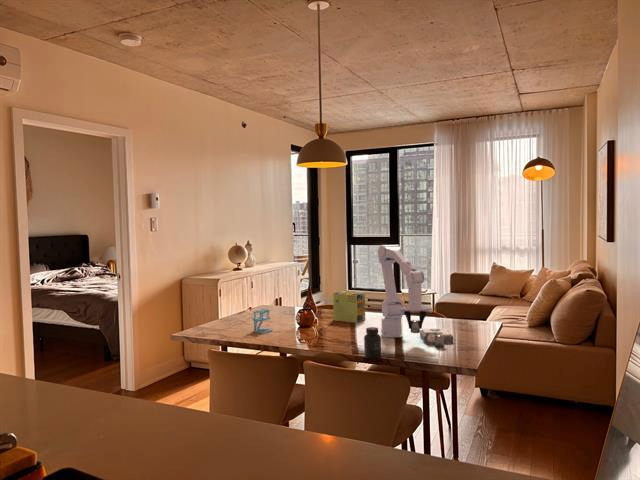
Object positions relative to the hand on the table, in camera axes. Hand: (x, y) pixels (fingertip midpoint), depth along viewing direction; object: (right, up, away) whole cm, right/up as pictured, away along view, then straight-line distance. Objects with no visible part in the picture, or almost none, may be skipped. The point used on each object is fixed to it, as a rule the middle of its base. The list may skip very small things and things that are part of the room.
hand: (415, 328), depth 218 cm
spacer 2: (+10, -8, -3) cm, 13 cm away
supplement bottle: (-21, -9, -19) cm, 29 cm away
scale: (+12, -7, +8) cm, 16 cm away
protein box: (-26, -6, +59) cm, 64 cm away
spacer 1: (0, -2, 0) cm, 2 cm away
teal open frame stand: (-72, -8, +32) cm, 79 cm away
